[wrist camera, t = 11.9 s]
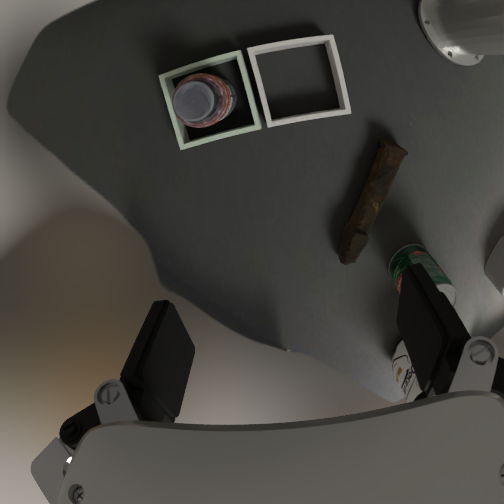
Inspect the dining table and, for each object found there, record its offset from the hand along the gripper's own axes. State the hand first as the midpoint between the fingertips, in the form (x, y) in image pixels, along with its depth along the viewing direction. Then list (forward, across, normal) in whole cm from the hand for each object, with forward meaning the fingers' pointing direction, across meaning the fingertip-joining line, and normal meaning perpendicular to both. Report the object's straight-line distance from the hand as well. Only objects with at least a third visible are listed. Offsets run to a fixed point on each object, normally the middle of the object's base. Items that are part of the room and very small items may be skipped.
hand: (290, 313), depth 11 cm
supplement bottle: (+30, +6, -9) cm, 32 cm away
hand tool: (+30, -12, +9) cm, 33 cm away
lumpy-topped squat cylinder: (+30, -44, +23) cm, 58 cm away
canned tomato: (+30, -19, +21) cm, 41 cm away
